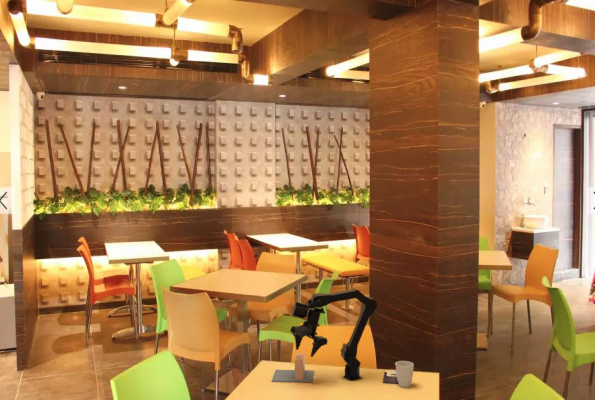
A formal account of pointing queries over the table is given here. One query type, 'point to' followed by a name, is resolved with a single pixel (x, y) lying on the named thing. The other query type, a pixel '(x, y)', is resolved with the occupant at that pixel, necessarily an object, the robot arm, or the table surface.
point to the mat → (292, 376)
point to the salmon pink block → (299, 366)
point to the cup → (404, 373)
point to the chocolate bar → (390, 377)
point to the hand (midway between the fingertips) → (304, 353)
